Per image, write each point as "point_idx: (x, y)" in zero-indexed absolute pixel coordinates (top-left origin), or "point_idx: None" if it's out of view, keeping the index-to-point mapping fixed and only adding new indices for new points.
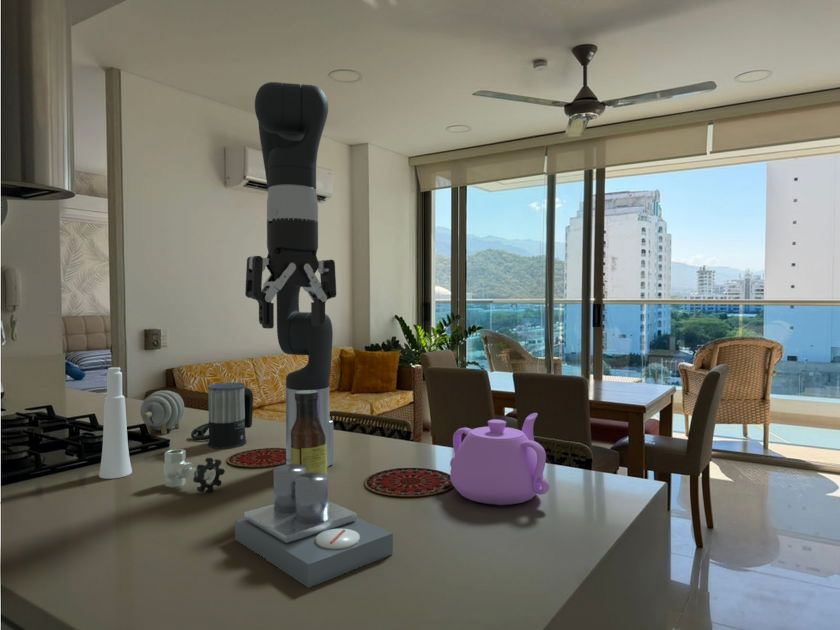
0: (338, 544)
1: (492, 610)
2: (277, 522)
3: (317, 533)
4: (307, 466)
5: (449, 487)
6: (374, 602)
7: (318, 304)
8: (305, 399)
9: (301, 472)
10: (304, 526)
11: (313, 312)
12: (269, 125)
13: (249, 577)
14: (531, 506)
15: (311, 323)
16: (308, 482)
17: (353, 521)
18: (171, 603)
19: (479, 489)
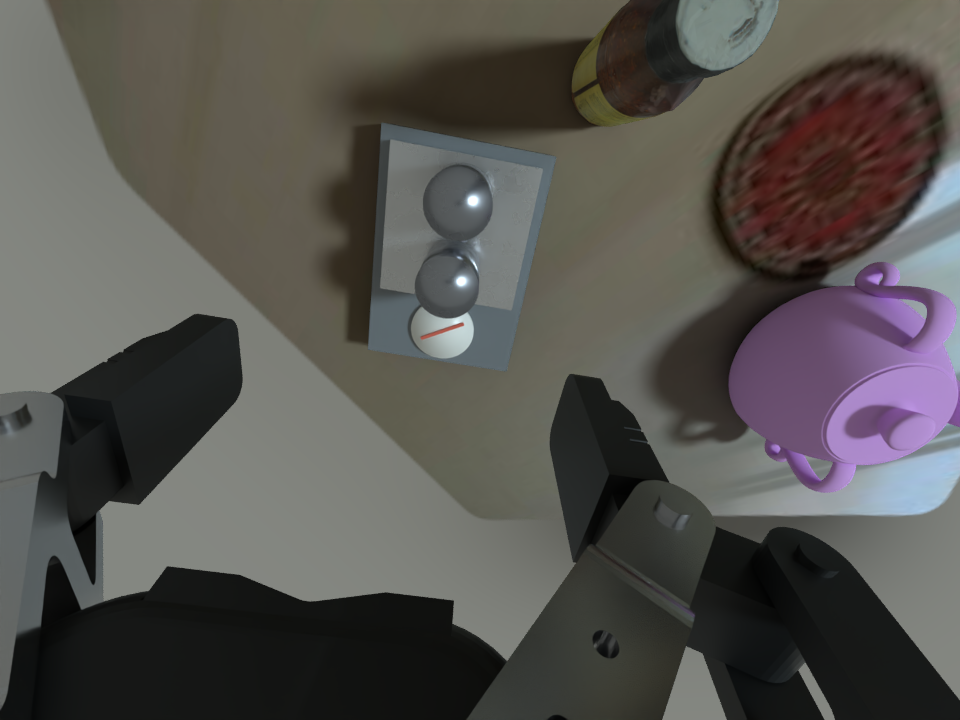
0: (425, 347)
1: (466, 487)
2: (402, 235)
3: None
4: (594, 105)
5: (811, 270)
6: (404, 407)
7: (573, 541)
8: (672, 57)
9: (461, 240)
10: None
11: (579, 443)
12: None
13: (337, 258)
14: None
15: (572, 376)
16: (422, 306)
17: None
18: (232, 235)
19: (732, 381)
